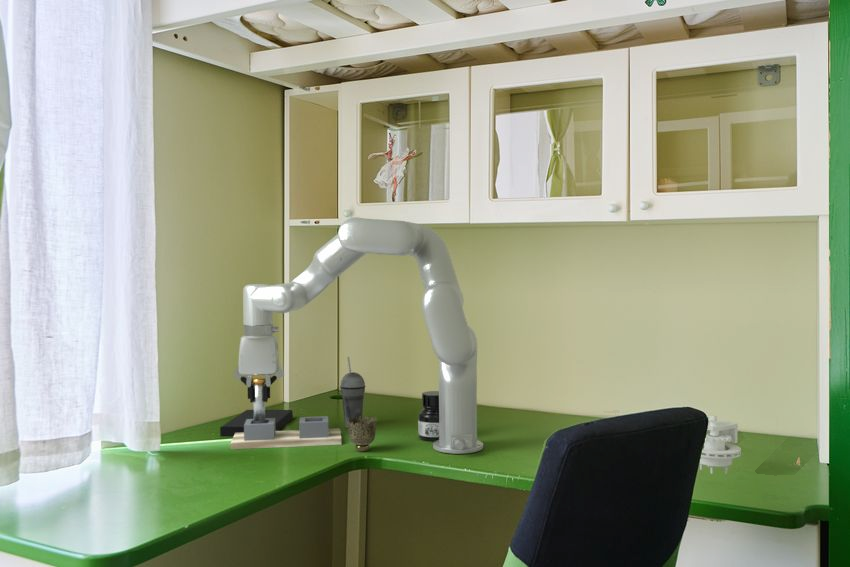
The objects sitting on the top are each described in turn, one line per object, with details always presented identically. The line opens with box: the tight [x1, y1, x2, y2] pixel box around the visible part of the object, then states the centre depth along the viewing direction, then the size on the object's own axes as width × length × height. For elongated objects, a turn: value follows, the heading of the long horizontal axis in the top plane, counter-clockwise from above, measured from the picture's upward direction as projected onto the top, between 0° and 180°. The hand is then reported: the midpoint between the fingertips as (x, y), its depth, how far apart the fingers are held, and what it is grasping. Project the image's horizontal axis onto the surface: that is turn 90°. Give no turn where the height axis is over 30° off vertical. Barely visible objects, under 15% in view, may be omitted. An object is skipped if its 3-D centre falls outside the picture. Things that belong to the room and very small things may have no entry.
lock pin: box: [251, 376, 266, 422], centre depth 201 cm, size 4×4×11 cm
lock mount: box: [298, 415, 329, 438], centre depth 203 cm, size 8×8×4 cm
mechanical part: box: [699, 415, 742, 475], centre depth 172 cm, size 11×12×12 cm
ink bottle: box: [417, 390, 439, 442], centre depth 205 cm, size 10×9×12 cm
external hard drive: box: [219, 409, 294, 438], centre depth 220 cm, size 14×23×3 cm, turn 176°
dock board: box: [229, 428, 342, 450], centre depth 202 cm, size 12×28×2 cm, turn 98°
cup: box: [347, 415, 378, 453], centre depth 192 cm, size 8×7×8 cm
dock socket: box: [244, 418, 275, 441], centre depth 201 cm, size 8×8×4 cm
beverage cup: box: [339, 356, 366, 429], centre depth 218 cm, size 7×7×20 cm
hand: (259, 400), depth 201 cm, fingers closed on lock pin, 3 cm apart
